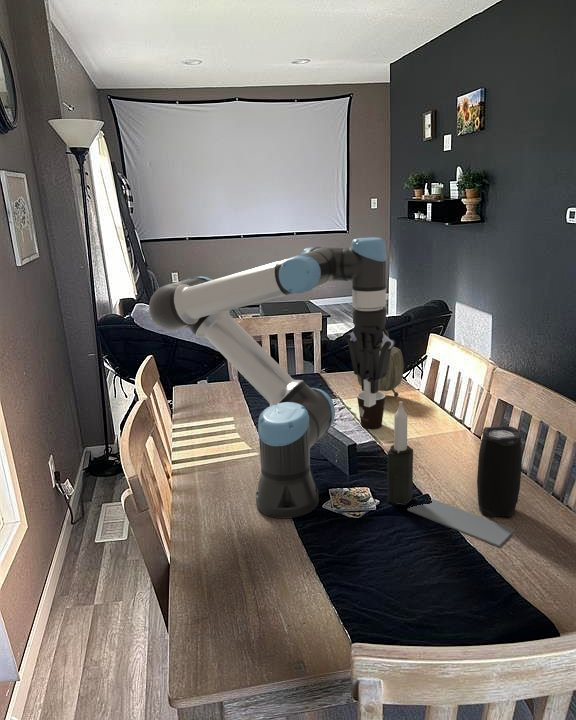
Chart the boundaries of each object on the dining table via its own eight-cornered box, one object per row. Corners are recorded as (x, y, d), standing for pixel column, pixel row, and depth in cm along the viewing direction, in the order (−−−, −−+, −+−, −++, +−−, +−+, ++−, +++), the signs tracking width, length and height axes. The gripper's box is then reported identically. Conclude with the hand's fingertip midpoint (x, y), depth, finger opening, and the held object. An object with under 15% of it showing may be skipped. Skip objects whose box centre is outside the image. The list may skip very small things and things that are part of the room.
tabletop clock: (403, 396, 207) (403, 327, 200) (393, 404, 200) (393, 333, 193) (365, 390, 215) (365, 323, 207) (354, 398, 207) (353, 329, 200)
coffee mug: (387, 430, 179) (387, 399, 176) (358, 431, 179) (358, 400, 177) (382, 416, 190) (382, 387, 187) (355, 417, 190) (355, 388, 188)
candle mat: (499, 547, 120) (499, 545, 120) (407, 510, 135) (407, 508, 135) (514, 531, 125) (514, 529, 125) (424, 497, 140) (424, 496, 140)
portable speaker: (468, 510, 134) (471, 431, 129) (492, 496, 139) (497, 420, 134) (501, 526, 127) (506, 443, 122) (525, 511, 133) (532, 431, 127)
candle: (386, 502, 139) (386, 403, 132) (393, 492, 143) (393, 396, 136) (407, 506, 137) (408, 406, 130) (413, 496, 141) (415, 399, 134)
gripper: (403, 307, 131) (402, 406, 138) (356, 301, 140) (357, 394, 147) (383, 313, 126) (383, 415, 133) (336, 307, 135) (338, 403, 142)
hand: (369, 404), depth 140 cm, fingers closed
